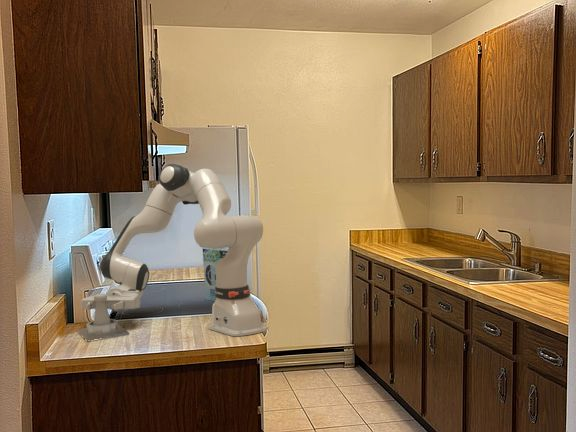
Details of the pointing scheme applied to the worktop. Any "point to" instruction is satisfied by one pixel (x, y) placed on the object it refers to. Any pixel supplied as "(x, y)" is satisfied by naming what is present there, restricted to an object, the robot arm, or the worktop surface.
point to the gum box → (211, 269)
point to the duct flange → (102, 330)
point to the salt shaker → (101, 310)
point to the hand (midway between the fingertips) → (100, 307)
